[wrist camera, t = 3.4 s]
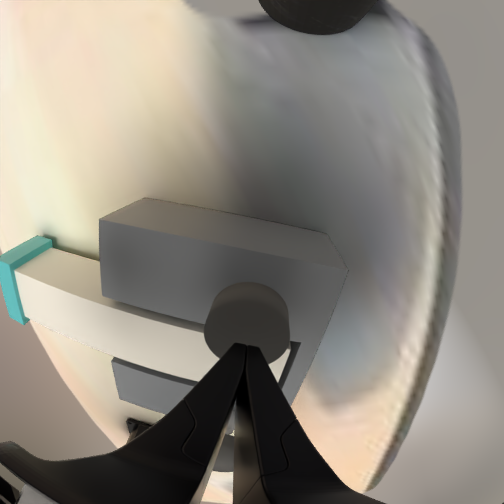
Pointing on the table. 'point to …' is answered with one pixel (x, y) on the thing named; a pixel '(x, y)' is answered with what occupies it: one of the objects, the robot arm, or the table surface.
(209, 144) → the table surface
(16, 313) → the bar
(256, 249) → the housing
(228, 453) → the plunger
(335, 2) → the travel mug
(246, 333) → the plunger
